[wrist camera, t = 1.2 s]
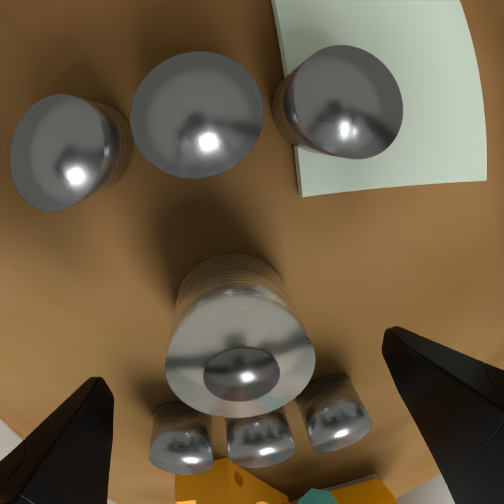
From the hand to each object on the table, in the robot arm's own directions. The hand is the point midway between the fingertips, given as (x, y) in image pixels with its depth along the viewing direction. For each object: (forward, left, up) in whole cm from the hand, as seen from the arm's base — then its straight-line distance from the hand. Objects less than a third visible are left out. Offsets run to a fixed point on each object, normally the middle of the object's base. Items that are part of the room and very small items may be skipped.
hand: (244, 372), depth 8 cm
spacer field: (0, 0, -4) cm, 4 cm away
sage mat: (-8, -9, -4) cm, 13 cm away
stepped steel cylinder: (0, 0, -4) cm, 4 cm away
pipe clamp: (+3, +19, -4) cm, 19 cm away
